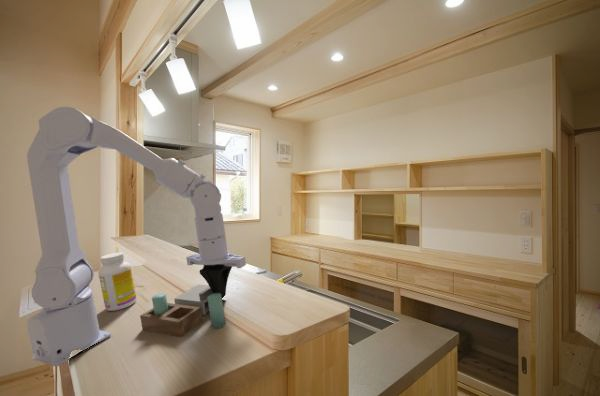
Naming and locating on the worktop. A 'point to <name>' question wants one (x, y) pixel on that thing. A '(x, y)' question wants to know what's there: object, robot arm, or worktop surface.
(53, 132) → the robot arm
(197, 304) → the housing
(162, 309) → the pin seated
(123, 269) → the supplement bottle
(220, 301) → the pin loose
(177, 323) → the socket strip
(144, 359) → the worktop surface
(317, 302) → the worktop surface
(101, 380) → the worktop surface
